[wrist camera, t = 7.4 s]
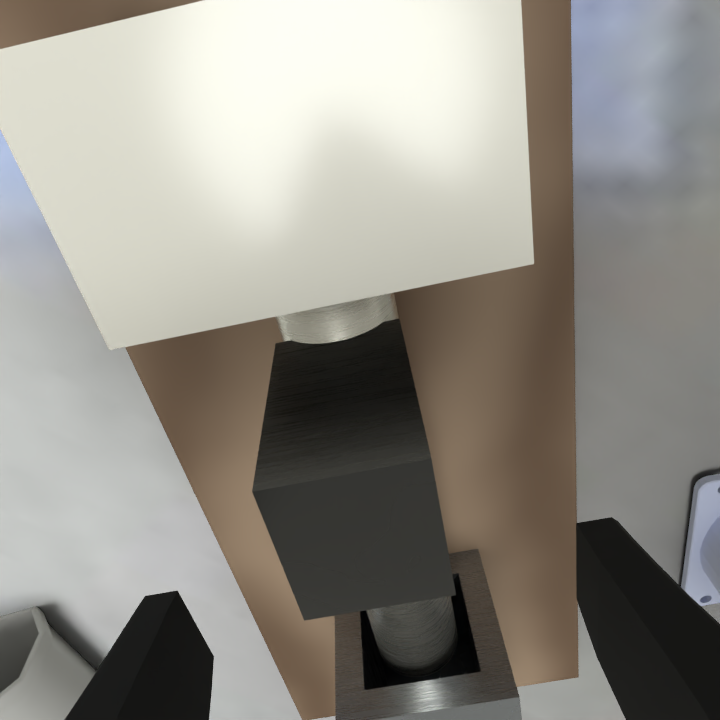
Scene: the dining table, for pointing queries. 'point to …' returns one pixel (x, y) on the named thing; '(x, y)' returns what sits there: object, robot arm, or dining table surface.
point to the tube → (38, 669)
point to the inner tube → (356, 482)
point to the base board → (434, 391)
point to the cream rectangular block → (274, 155)
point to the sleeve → (443, 688)
